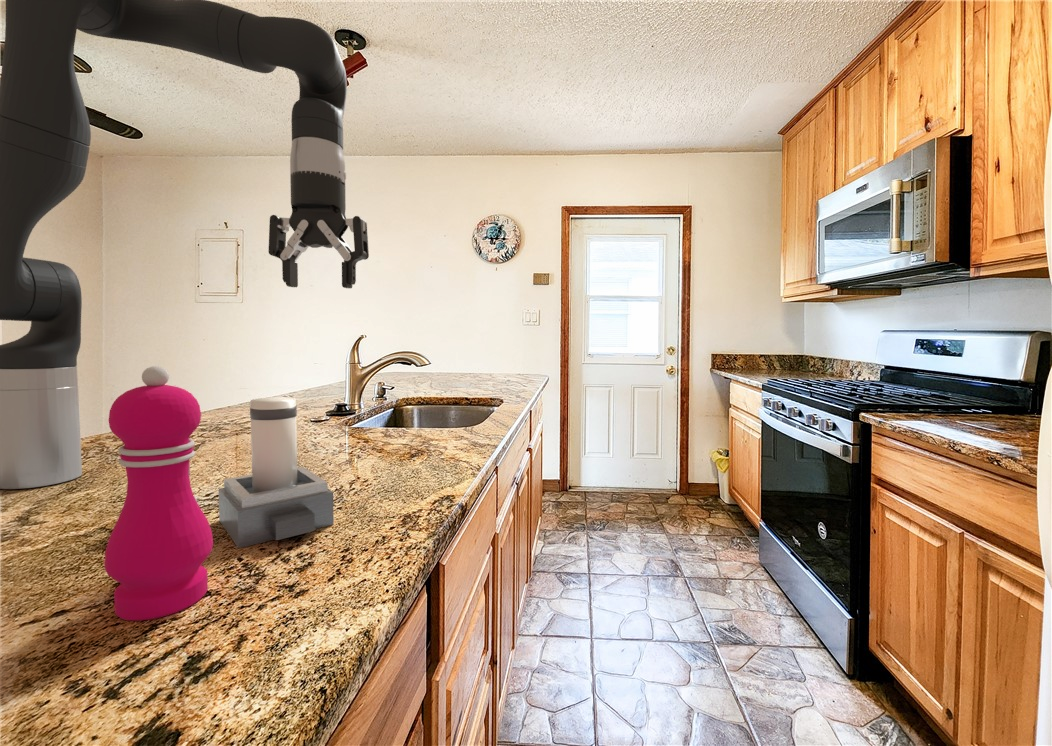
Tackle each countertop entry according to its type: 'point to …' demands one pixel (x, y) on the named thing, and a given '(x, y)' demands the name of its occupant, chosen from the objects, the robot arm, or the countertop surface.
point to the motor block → (274, 509)
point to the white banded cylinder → (273, 443)
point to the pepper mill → (157, 503)
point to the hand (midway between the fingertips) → (319, 287)
